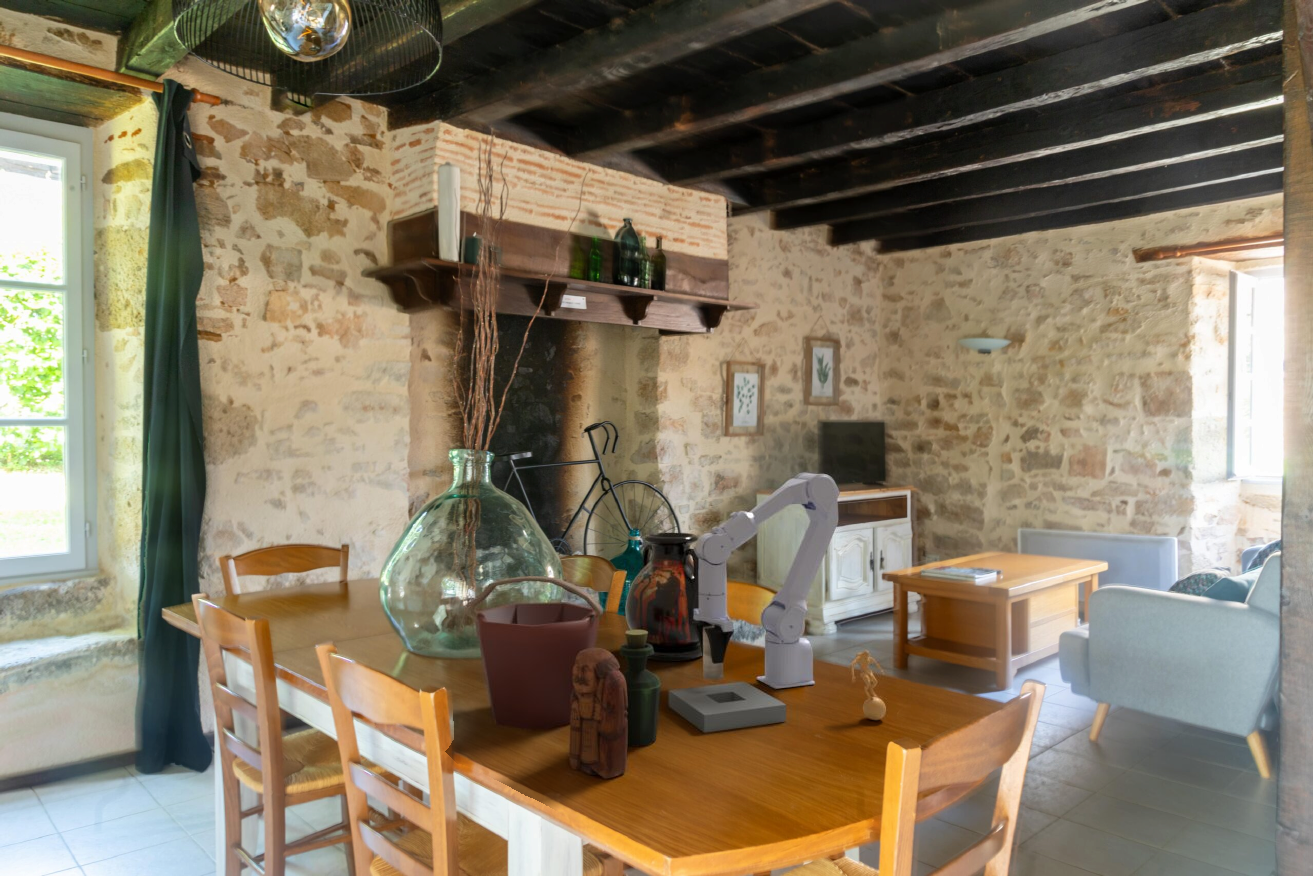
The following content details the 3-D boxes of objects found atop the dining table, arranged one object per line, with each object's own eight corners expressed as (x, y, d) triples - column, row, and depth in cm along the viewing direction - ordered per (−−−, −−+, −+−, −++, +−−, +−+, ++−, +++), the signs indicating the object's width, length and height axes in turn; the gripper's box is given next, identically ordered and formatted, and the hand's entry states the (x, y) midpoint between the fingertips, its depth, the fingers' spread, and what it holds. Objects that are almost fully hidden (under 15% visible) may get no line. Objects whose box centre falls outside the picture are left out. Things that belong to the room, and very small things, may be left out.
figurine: (867, 727, 151) (867, 658, 151) (841, 718, 156) (841, 651, 156) (898, 718, 156) (898, 651, 156) (872, 709, 161) (872, 645, 161)
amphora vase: (606, 653, 204) (606, 534, 204) (672, 639, 218) (672, 528, 218) (668, 671, 188) (668, 542, 188) (736, 655, 202) (735, 535, 203)
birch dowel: (717, 673, 178) (717, 625, 178) (726, 678, 174) (726, 629, 174) (700, 676, 176) (699, 626, 176) (708, 681, 172) (708, 630, 173)
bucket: (445, 724, 153) (445, 582, 153) (511, 690, 173) (511, 566, 173) (569, 741, 144) (569, 591, 144) (622, 704, 164) (622, 572, 164)
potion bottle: (665, 733, 148) (665, 628, 148) (655, 750, 140) (655, 638, 140) (619, 730, 149) (619, 626, 149) (606, 746, 141) (606, 636, 141)
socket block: (744, 697, 169) (744, 681, 169) (786, 721, 154) (786, 704, 154) (668, 706, 163) (668, 690, 163) (704, 732, 148) (704, 715, 148)
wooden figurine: (555, 762, 134) (555, 646, 134) (586, 752, 139) (586, 640, 139) (606, 783, 126) (606, 660, 126) (637, 772, 130) (637, 652, 131)
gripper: (680, 588, 180) (680, 654, 180) (710, 600, 167) (710, 671, 167) (710, 586, 183) (711, 650, 183) (742, 598, 170) (743, 667, 170)
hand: (713, 660), depth 175 cm, fingers closed on birch dowel, 4 cm apart
